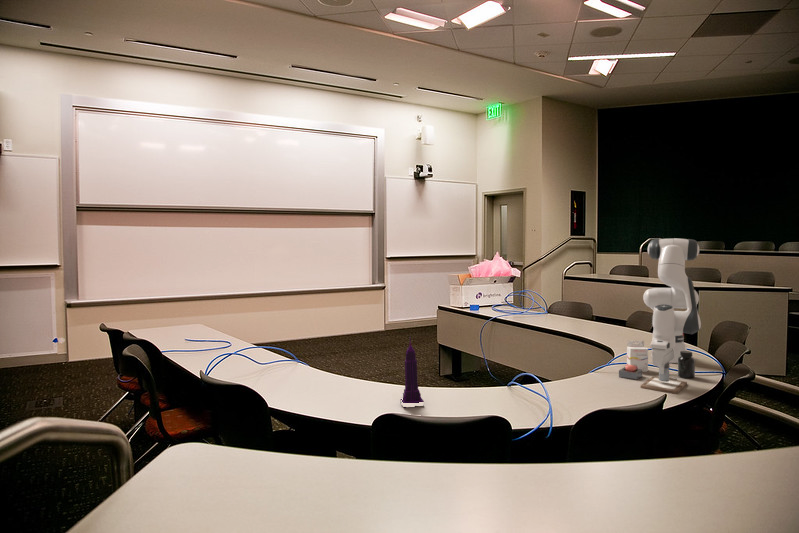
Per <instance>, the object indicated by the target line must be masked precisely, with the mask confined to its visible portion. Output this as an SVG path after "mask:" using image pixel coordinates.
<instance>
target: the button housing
mask: <svg viewBox="0 0 799 533" xmlns="http://www.w3.org/2000/svg"><path fill="white" fill-rule="evenodd" d="M642 377H643V372H642V369H636V372H630V371H626V369H625V366H624V367H622V368H621V369H619V370H618V378H622V379H629V380H635V381H637V380H639V379H641V378H642Z"/></svg>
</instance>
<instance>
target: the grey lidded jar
mask: <svg viewBox="0 0 799 533" xmlns="http://www.w3.org/2000/svg"><path fill="white" fill-rule="evenodd" d="M664 370H665V373H664V374H660V371H659V370H658V377H659V380H660V381H663V382H668V381H669V377H670V363H669V362H668V363H666V364H665V366H664Z"/></svg>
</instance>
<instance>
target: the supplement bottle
mask: <svg viewBox="0 0 799 533" xmlns="http://www.w3.org/2000/svg"><path fill="white" fill-rule="evenodd" d="M680 355H681V356H680V357H679V358H678V363H677V375H678V378H681V379H687V380H688V379H689V380H691V379H695V377H696V365H695V364H696V360H695V358H694V357H693V351H691V350H690V351H689V350H687V351H680Z"/></svg>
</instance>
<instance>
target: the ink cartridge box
mask: <svg viewBox="0 0 799 533" xmlns="http://www.w3.org/2000/svg"><path fill="white" fill-rule="evenodd" d="M626 365H635V366H636V369H642V373H643V372H645V373H646V372H647V371H649V348H647V347H646V346H645V340H627V346H626ZM647 373H648V372H647Z"/></svg>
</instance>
